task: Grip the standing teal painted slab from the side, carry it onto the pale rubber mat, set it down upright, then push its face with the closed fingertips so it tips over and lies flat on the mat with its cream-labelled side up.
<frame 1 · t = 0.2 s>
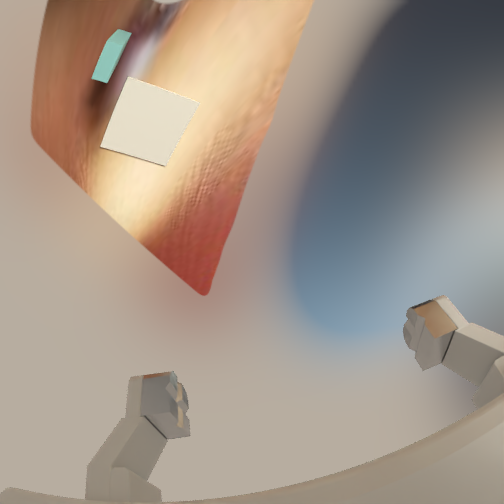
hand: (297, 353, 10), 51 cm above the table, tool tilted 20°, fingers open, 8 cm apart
slab: (117, 46, 41), on the table
mat: (147, 123, 54), on the table
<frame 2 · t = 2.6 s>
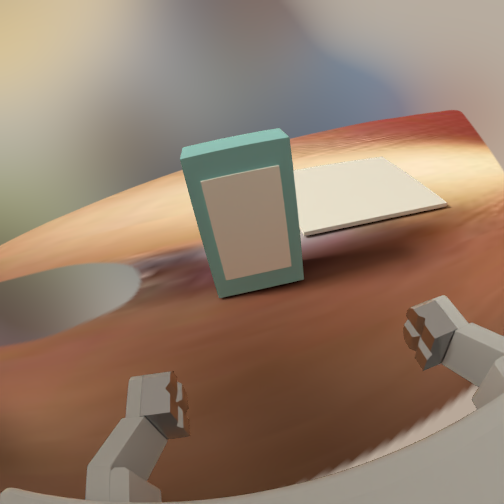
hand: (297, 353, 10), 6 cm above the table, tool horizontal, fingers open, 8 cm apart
slab: (258, 277, 23), on the table
mat: (352, 188, 33), on the table
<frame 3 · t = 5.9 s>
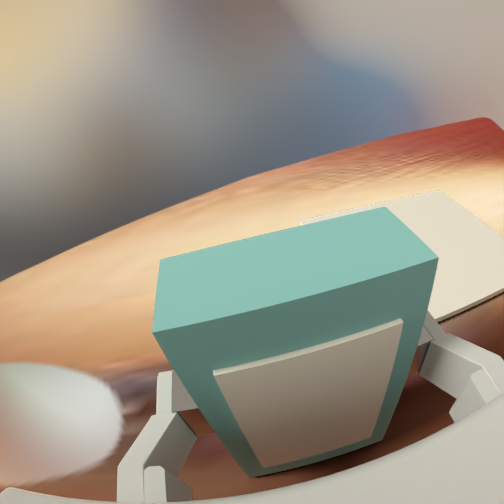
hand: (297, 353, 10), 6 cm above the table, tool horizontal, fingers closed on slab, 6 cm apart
slab: (310, 438, 12), on the table, touching gripper
mat: (418, 246, 22), on the table
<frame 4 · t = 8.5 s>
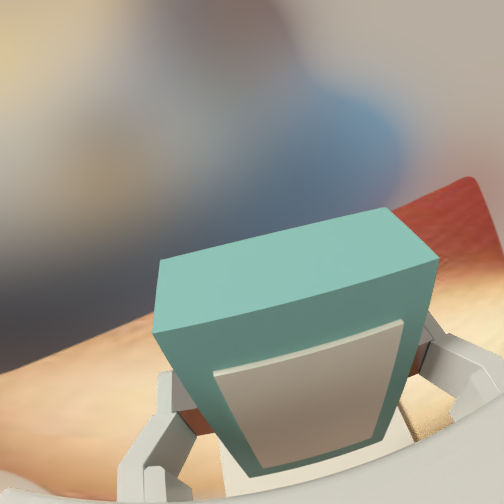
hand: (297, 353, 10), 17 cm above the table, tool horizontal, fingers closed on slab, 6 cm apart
slab: (310, 439, 12), point 11 cm above the table, touching gripper
mat: (310, 431, 23), on the table
when the fingers open (7 cm above the table, at t = 11.2 s): slab drops 1 cm, resting on mat.
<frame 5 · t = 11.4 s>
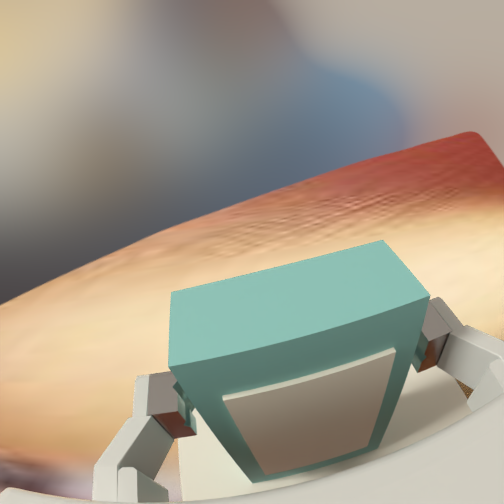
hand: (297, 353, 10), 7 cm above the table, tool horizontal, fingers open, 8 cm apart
slab: (310, 446, 13), resting on mat
mat: (305, 367, 17), on the table
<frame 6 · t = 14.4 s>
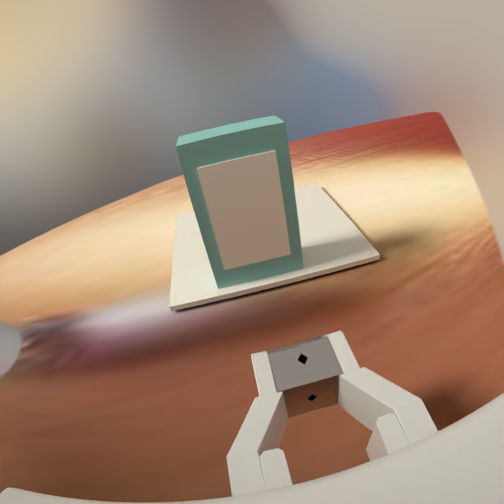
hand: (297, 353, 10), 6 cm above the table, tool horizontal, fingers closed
slab: (258, 268, 23), resting on mat
mat: (260, 234, 27), on the table
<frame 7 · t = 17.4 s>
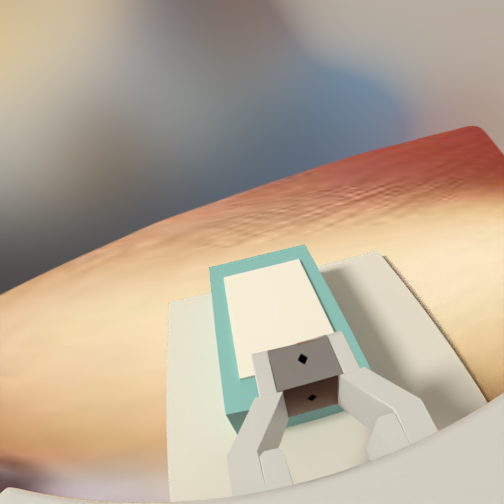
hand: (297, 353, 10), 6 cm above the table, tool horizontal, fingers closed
slab: (303, 411, 12), point 2 cm above the table, tilted 90°, touching mat
mat: (306, 361, 16), on the table
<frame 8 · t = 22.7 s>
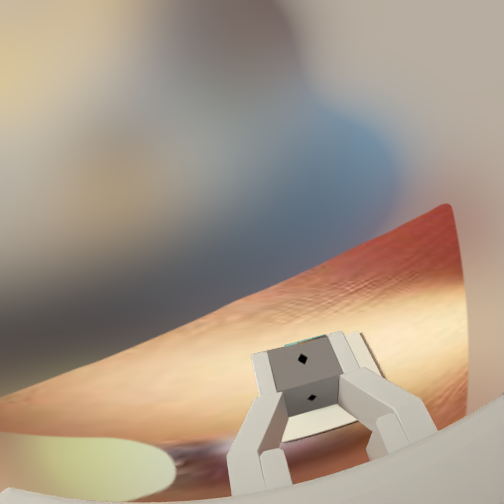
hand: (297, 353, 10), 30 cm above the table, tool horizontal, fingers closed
mat: (325, 383, 40), on the table
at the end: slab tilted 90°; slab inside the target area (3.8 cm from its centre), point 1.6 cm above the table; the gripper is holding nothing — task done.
